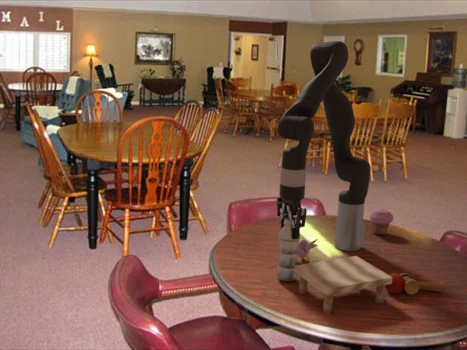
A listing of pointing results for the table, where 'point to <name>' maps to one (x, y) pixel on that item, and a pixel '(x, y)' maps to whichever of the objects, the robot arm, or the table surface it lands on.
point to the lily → (305, 248)
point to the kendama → (411, 284)
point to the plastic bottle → (287, 252)
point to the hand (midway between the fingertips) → (289, 235)
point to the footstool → (342, 278)
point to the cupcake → (381, 220)
